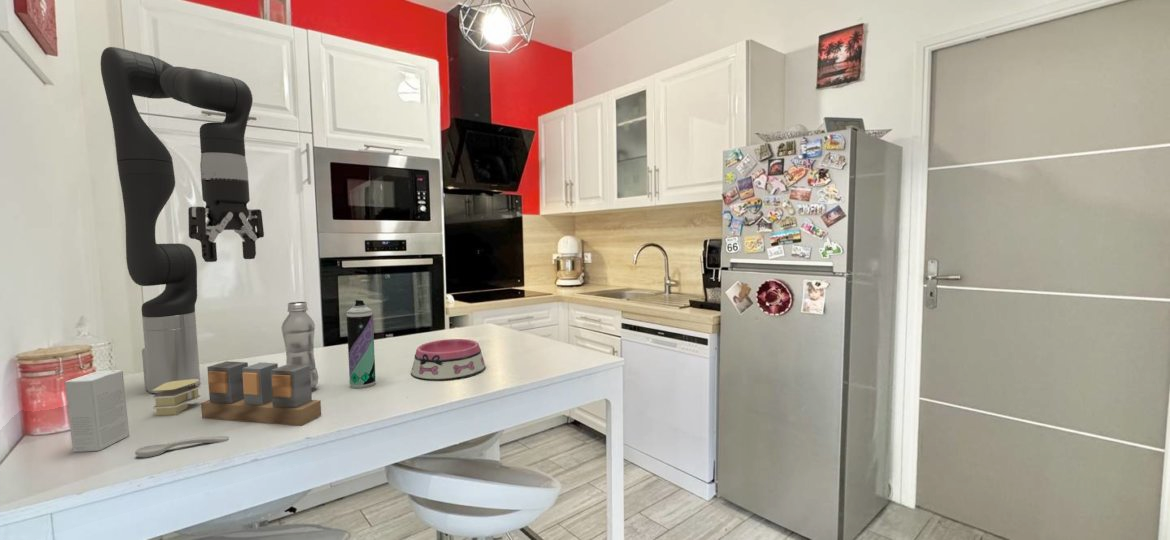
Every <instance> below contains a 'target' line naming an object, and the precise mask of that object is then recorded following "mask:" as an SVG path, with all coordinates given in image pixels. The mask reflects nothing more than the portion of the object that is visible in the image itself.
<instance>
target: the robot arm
mask: <svg viewBox="0 0 1170 540" xmlns="http://www.w3.org/2000/svg"><path fill="white" fill-rule="evenodd" d="M100 73H101V77H102V79H101V80H102V83H103V87H104V91H105V92H104V93H105V95H106V100H107V104H108V109H109V114H110V116H111V117H110V118H111V122H112V128H113V135H114V136H113V137H114V142H115V143H114V145H115V155H116V164H117V172H118V177H119V179H118V180H119V183H120V187H121V188H120V189H121V194H122V195H121V196H122V202H123V209H124V210H123V211H124V221H125V226H124V227H125V254H126V256H125V258H126V267H127V270H128V274H129V276H130V278H131V280H132V281H133V282H134V284H136V285H138V286H141V287H151V286H152V287H153V286H160V285H161V286H162V285H165V287H164V290H163V291H162V292H161V293H160V294H158V295H157V296H155V297H154V298H151V299H149V300H148V301H145V302H143V304H142V305H141V319H142V321H141V322H142V331H143V342H144V348H142V350H141V358H142V368H143V369H142V370H143V381H144V391H148V392H149V393H150V394H158V393H160V392H161V391H163V390H157V391H152V390H154V389H155V388H157V387H159V386H161V385H162V384H164V383H167V382H172V381H180V380H190V379H198V380H199V381H197V382H195V383H192V385H194V384H195V385H199V386H200V384H201V370H200V360H199V358H200V357H199V344H198V333H197V332H198V331H197V318H196V317H197V316H196V303H197V299H198V265H197V264H198V263H197V258H196V255H195V253H194V250H192V248H191V247H190V246H189V245H187V244H184V243H157V240H156V224H157V221H158V218H159V215H160V213H161V212H162V210H163V208H164V207H165V206H166V205H167V203H168V201H169V199H170V198H171V196H172V195H173V192H174V190H175V187H176V177H175V169H174V161H173V157H172V154H171V152H170V151H169V150H168V149H167V148H168V147H166V146H165V144H164V143H163V142H162V140H160V138H159V137H158V136H157V135H156V134H155V133H154V132H153V130H152V129H151V128H150V127H149V126H148V124H147V123H146V122H145V120H144V119H143V118H142V116H141V114H140V113H139V111H138V109H137V106H136V103H135V100H134V96H135V97H141V98H146V99H156V100H157V99H159V100H161V99H173V100H175V101H178V102H181V103H183V104H184V103H185V104H188V105H190V106H192V107H196V108H200V109H203V110H209V111H213V112H214V111H215V112H219V113H224V114H225V116H224V117H225V118H224V120H223V121H222V122H219V121H217V122H206V123H203V124H201V125H200V127H199V144H200V163H199V164H200V166H199V169H200V170H199V171H200V182H201V194H202V195H201V196H202V200H203V202H205V207H204V206H190V207H188V212H187V213H188V214H187V215H188V238H189V239H192V240H197V241H199V242H200V244H201V245H200V246H201V257H202V259H203V260H204V262H206V263H214V262H218V256H217V255H218V254H217V253H218V252H217V241H216V239H217V238H218V236H219V234H221V233H222V232H223V231H226V230H227V231H234V233H236V234H238V235H239V236H240V238H241V239H242V241H241V242H242V243H241V245H242V247H241V248H242V258H243V259H244V260H254V259H255V258H256V255H257V247H256V241H257V240H258V239H261V238H264V236H265V232H264V224H263V213H262V210H261V209H258V208H257V209H250V208H248V206H247V204H248V203H249V202H250V201H251V200H250V199H251V198H250V185H249V170H248V169H249V168H248V164H247V159H246V147H245V146H246V145H245V134H246V129H247V125H248V120H249V117H250V114H251V113H250V112H251V109H252V107H253V101H254V100H253V94H252V91H251V89H250V87H249V86H248V84H247V83H246V82H245V81H243V80H241V79H239V78H235V77H231V76H228V75H224V74H219V73H216V72H212V71H208V70H202V69H198V68H188V67H185V66H174V65H172V64H171V63H168V62H166V61H164V60H162V59H160V58H158V57H155V56H153V55H149V54H144V53H140V52H136V51H133V50H128V49H125V48H120V47H114V46H108V47H105V48H104V49H103V50H102V52H101V56H100ZM215 241H216V242H215ZM189 385H191V384H189ZM189 385H186V386H189Z"/></svg>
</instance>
